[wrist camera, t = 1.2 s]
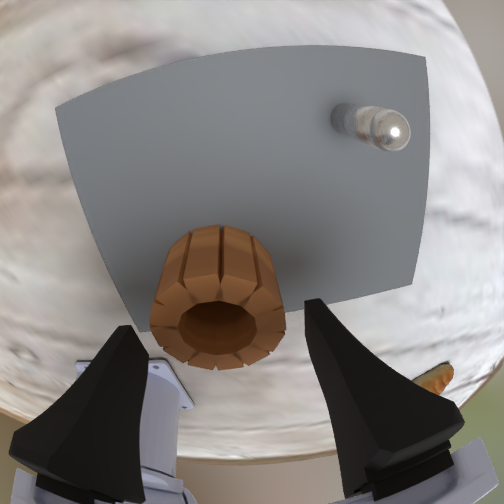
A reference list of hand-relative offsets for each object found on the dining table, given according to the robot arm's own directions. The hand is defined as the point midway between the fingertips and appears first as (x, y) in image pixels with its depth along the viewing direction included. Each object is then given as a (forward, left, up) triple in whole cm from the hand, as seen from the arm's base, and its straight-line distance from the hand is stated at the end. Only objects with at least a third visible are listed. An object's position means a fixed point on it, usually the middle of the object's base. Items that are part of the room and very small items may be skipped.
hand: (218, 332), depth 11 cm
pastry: (+20, -24, -6) cm, 32 cm away
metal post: (+7, +7, -4) cm, 11 cm away
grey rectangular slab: (+3, +3, -6) cm, 7 cm away
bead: (0, 0, -4) cm, 4 cm away
